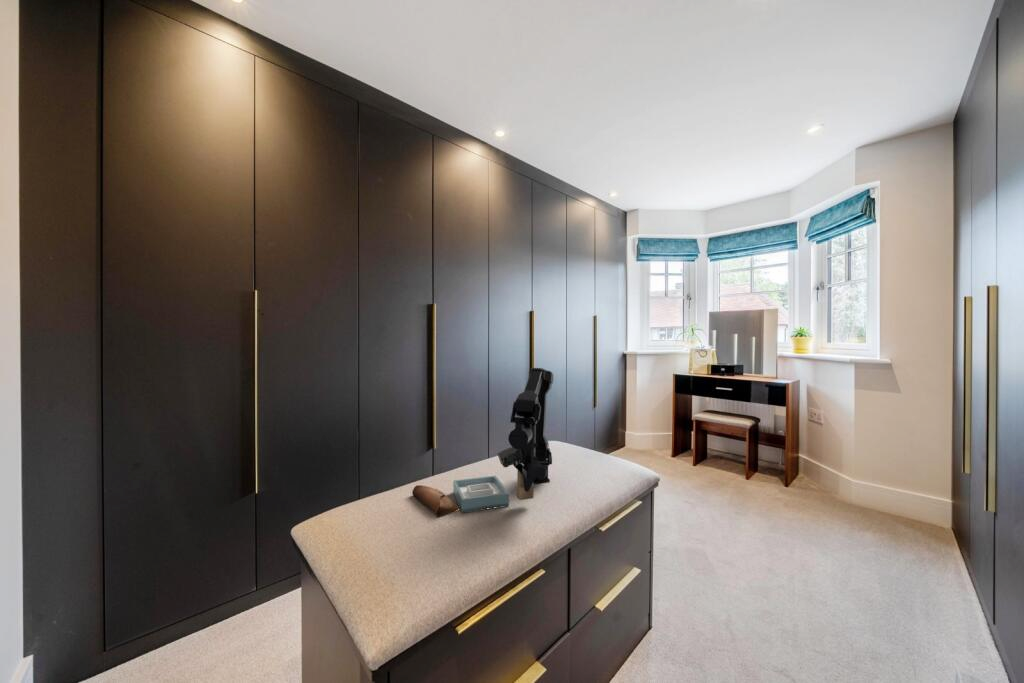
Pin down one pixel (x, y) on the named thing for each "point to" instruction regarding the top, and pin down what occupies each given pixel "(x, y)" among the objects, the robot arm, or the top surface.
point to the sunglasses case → (434, 500)
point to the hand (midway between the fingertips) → (525, 489)
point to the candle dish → (480, 493)
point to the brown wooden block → (521, 490)
